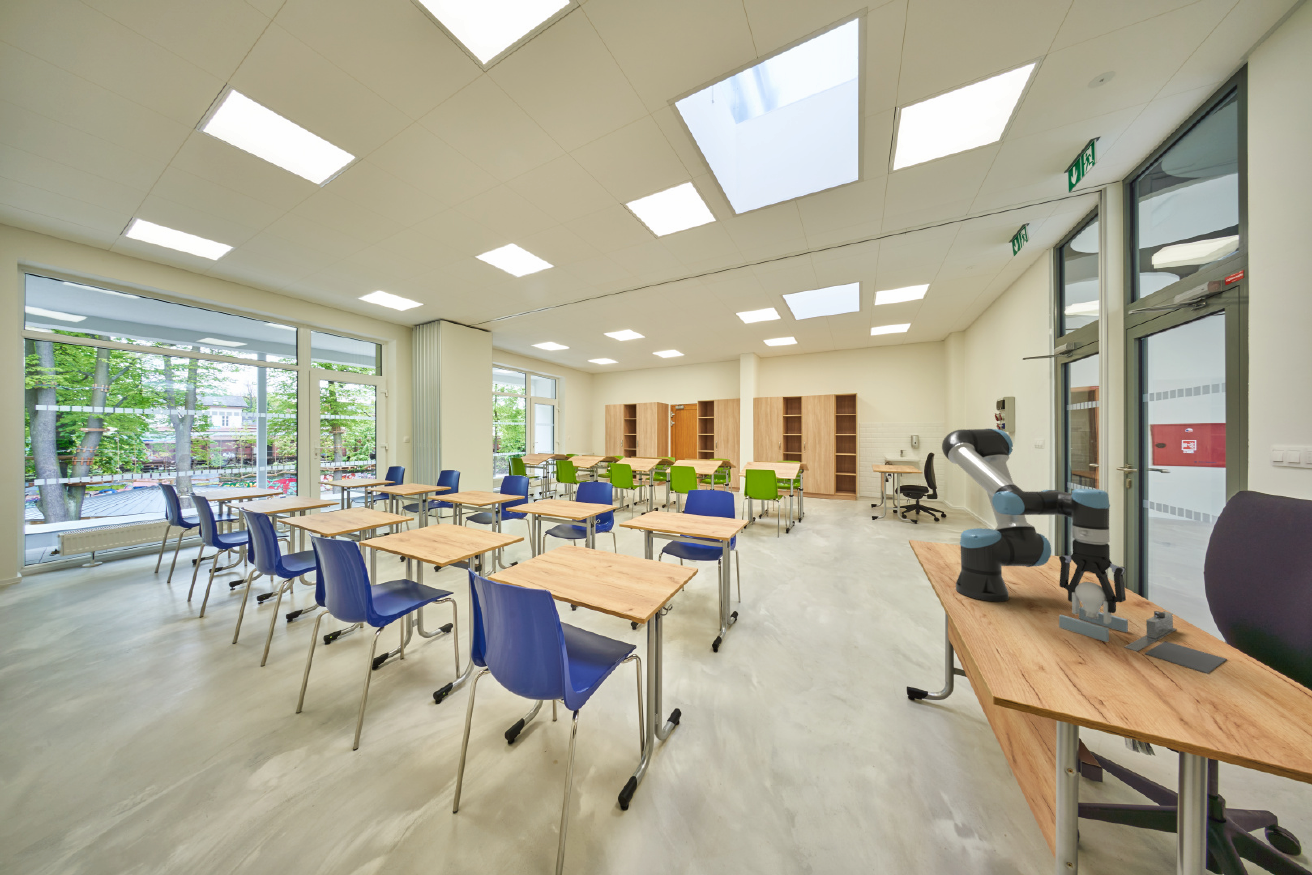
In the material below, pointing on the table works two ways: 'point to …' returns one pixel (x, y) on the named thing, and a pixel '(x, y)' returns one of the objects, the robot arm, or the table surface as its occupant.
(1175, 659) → the mat
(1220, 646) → the table surface
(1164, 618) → the latch bar
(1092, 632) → the channel
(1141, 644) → the track
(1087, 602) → the light bulb
